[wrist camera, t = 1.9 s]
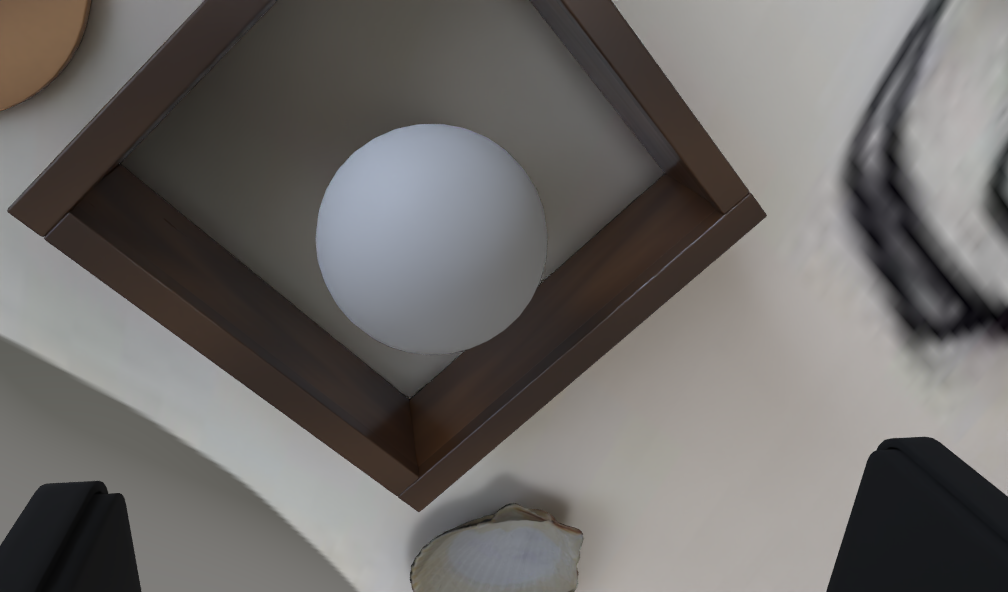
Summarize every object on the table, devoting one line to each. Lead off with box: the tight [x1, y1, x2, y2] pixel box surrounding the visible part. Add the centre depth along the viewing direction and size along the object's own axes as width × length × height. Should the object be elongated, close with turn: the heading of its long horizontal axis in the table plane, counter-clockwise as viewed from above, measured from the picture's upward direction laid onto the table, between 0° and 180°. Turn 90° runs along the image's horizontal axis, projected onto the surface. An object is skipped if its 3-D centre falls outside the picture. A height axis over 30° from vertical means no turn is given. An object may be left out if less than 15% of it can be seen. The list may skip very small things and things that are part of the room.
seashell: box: [410, 504, 583, 592], centre depth 33 cm, size 8×3×8 cm
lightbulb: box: [316, 124, 548, 355], centre depth 21 cm, size 6×6×11 cm
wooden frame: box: [7, 0, 767, 512], centre depth 24 cm, size 16×16×6 cm
